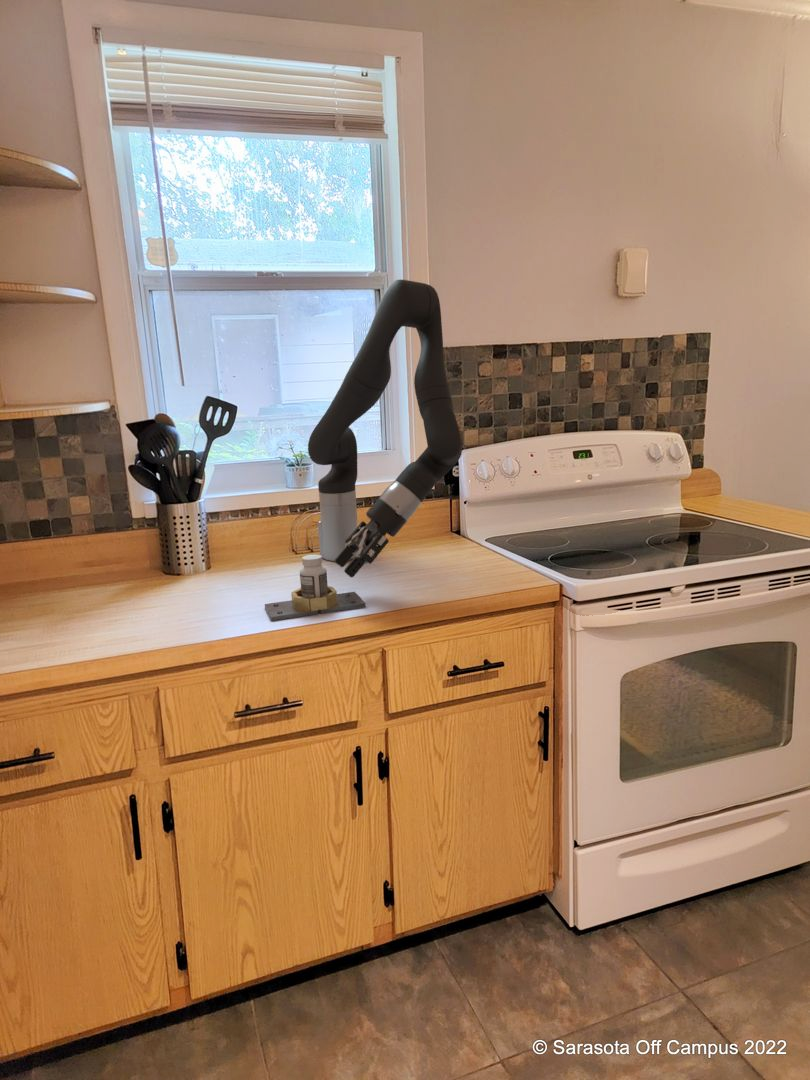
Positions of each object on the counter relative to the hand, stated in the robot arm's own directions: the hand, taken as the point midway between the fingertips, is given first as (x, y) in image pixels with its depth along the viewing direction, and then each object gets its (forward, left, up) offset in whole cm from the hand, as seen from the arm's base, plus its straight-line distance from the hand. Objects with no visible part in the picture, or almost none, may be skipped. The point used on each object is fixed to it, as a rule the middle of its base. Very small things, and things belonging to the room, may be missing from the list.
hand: (342, 569), depth 147 cm
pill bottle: (-4, -4, -7) cm, 9 cm away
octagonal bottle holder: (-4, -5, -7) cm, 10 cm away
